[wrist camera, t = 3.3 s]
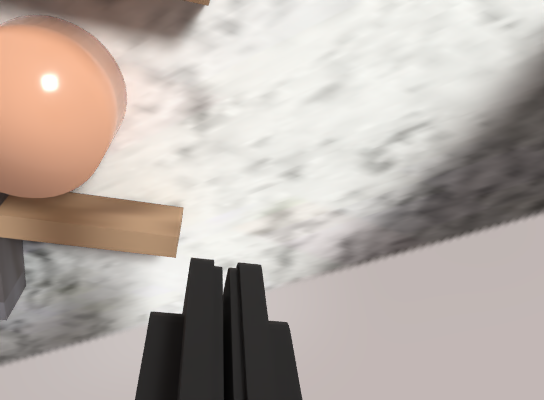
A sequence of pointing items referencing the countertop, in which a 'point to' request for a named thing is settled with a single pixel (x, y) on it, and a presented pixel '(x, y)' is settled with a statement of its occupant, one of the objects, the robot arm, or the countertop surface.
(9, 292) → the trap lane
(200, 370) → the robot arm
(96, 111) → the short salmon cylinder
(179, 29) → the countertop surface
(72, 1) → the countertop surface
